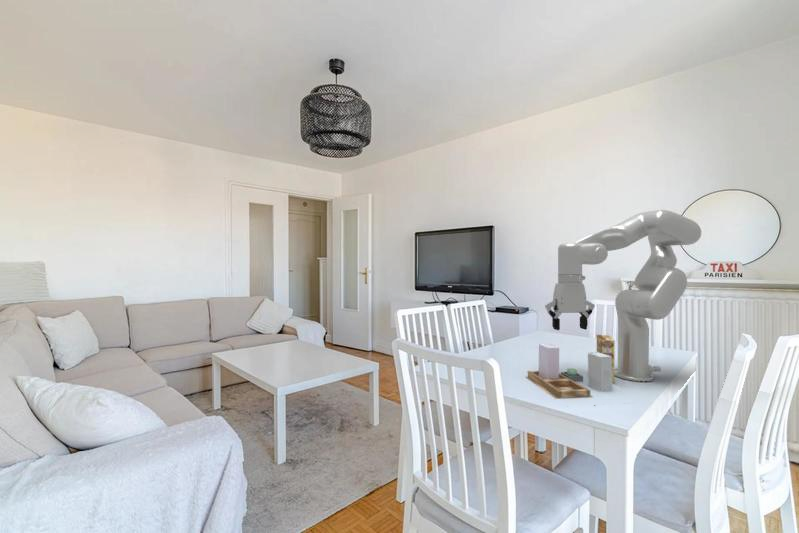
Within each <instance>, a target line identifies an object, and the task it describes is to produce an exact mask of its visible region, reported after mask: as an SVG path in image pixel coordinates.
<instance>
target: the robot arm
mask: <svg viewBox="0 0 799 533" xmlns="http://www.w3.org/2000/svg"><path fill="white" fill-rule="evenodd" d="M646 237H647V239H648V243H649V247H650V254H649V257H648V258H647V260H646V261H645V263H644V264H643V266H642V267H641V269H640V270H639V272H638V273H637V274H636V276H635V278H634V285H635V288H637V289H635V288H634V289H624V290H621V291H620V292H619V293H617V295H616V297H615V301H614V303H615V305H614V306H615V311H616V314H617V315H616V316H617V368H614V377H617V378H620V379H623V380H627V381H633V382H640V381H642V382H645V381H647V382H653V381H654V379H655V378H654V377H655V376H654V375H653V374H652V373H653V372H657V373H658V372H661V370H662V369H661V367H660V366H659V365H653V366H652V365H651V364H650V362H649V361H650V359H649V355H650V352H649V351H650V326H649V324H648V321H647V320H646V319H649V320H657V321H658V320H662V319H665V318H666V317H668V316H669V314H670V313H672V311H673V310H674V308H675V306H676V304H677V303H678V302H679V300H680V299H681V297H682V296H683V294H684V292H685V291H686V288H687V285H688V277H687V274H686V273H685V271H683V270H682V269H680V268H677V267H676V266H677V262H678V260H677V259H678V258H677V256H676V254H675V251H674V250H673V247H674V246H691V245H694V244H695V243H697V242H699V241H700V239H701V237H702V229H701V227H700V225H699V224H698V223H697V221H695V220H693V219H690V218H688V217H685V216H683V215H681V214H680V213H677V212H675V211H674V212H673V211H671V210H667V209H657V210H651V211H644V212H643V211H642V212H639V213H637V214H634V215H633V216H630V217H629V218H627V219H625V220H623V221H620V222H619V223H617V224H616V225H614V226H611V227H609V228H606V229H603V230H601V231H598V232H595V233H593V234H590V235H588V236H584V237H583V238H581V239H579V240H577V241H575V242H573V243H562V244H560V245H558V247H557V266H558V267H557V283H555V285H554V289H553V296H552V301H550V302H549V303H546V304H545V305H544V307H545V308H544V309H546V312H547V314H548V315H549V316H550V317H551V318H552V328H553V330H556V331H560V330H561V329H560V328H561V324H560V323H561V321H560V320H561V319H560V316H561V315H562V314H570V313H571V314H572V313H573V314H575V313H577V314H578V313H579V315H580V316H579V329H582V330H586V331H587V329H588V318H589V317H590V315H591V314H592V313H593V311H594V309H595V306H596V305H595V303H592V302H590V301H589V300H587V292H586V288H585V287H586V286H585V283H583V281H585V280H586V276H585V275H583V265H586V266H587V265H591V266H592V265H593V266H594V265H595V266H596V265H600V264H602V263H604V262H605V261H606V260H607V258H608V256H609V255H608V254H609V253H608V252H611V251H616V250H617V251H618V250H621V249H624V248H628V247H630V246H631V245H633V244H634V243H636V242H638V241H640V240H642V239H644V238H646ZM672 246H673V247H672Z"/></svg>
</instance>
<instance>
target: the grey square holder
mask: <svg viewBox="0 0 799 533" xmlns="http://www.w3.org/2000/svg"><path fill="white" fill-rule="evenodd" d="M560 374H562V375H564V376H566V377H567V378H569V379H571V380H573V381H574V382H576V383H580V382H584V375H582V374H580V373H578V372H577V376H569V375H567V371H561V372H560Z"/></svg>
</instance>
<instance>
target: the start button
mask: <svg viewBox="0 0 799 533" xmlns="http://www.w3.org/2000/svg"><path fill="white" fill-rule="evenodd" d="M566 372H567V375H569V376H577V373H578V370H577V369H575V368H566Z"/></svg>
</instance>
